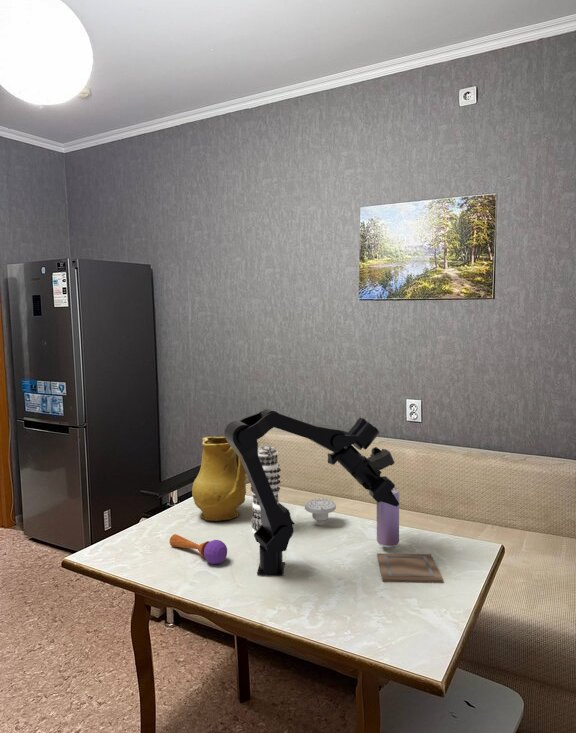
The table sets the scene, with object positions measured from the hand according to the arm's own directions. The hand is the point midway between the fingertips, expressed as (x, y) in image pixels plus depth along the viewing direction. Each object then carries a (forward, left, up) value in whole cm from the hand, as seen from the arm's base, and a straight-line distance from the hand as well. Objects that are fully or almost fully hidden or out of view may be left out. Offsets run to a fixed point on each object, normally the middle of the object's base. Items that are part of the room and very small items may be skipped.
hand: (394, 501), depth 143 cm
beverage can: (0, +2, -12) cm, 12 cm away
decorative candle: (+12, +36, -13) cm, 40 cm away
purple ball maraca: (-5, +53, -14) cm, 55 cm away
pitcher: (+23, +52, -13) cm, 58 cm away
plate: (-11, -2, -13) cm, 18 cm away
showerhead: (+17, +20, -13) cm, 29 cm away
